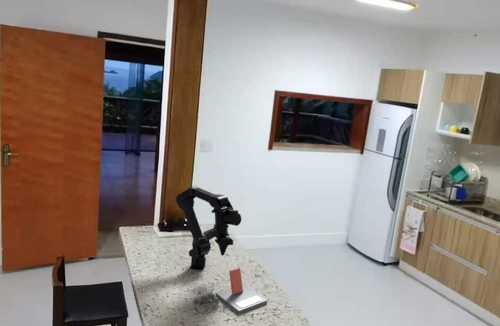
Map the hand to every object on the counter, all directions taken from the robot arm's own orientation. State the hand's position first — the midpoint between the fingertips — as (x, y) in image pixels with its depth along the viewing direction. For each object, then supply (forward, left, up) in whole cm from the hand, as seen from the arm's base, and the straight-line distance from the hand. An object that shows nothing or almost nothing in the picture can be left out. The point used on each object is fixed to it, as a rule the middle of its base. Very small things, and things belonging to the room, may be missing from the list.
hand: (222, 255), depth 187 cm
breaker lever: (+9, -14, -10) cm, 19 cm away
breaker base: (+11, -16, -12) cm, 23 cm away
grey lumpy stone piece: (-3, -24, -13) cm, 28 cm away
